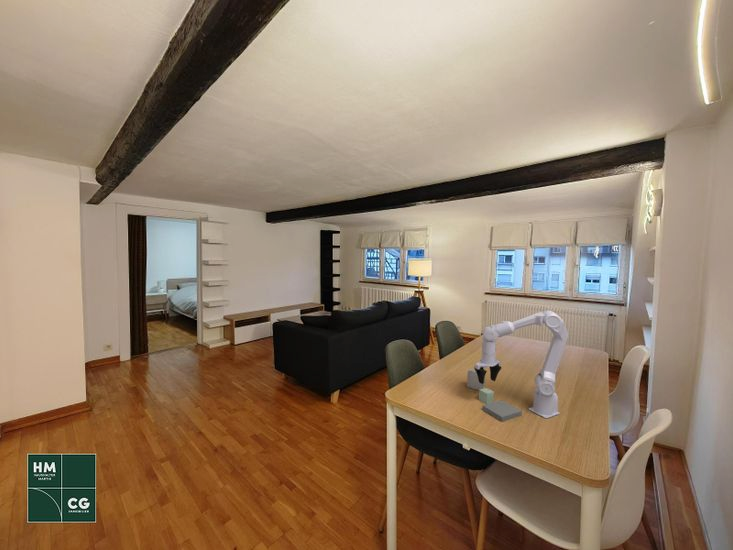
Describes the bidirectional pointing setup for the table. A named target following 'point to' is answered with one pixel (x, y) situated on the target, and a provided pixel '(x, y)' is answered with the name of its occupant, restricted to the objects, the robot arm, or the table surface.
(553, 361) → the robot arm
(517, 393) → the table surface
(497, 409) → the slate plinth
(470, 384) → the medicine box
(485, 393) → the sage cube
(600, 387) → the table surface
